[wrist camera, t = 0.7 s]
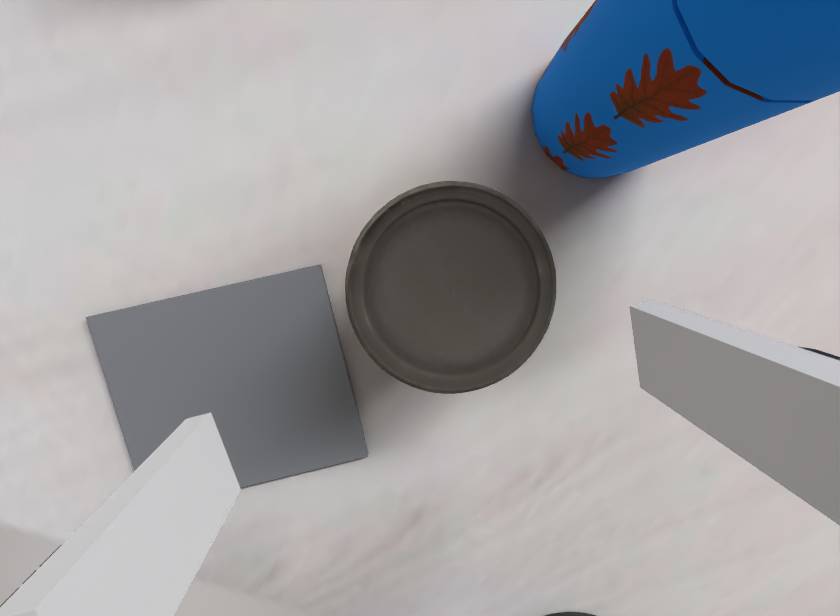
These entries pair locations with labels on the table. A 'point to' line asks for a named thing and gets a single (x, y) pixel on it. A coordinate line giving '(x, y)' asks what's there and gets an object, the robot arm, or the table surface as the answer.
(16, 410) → the table surface
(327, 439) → the placemat
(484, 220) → the coffee can
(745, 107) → the thermos
